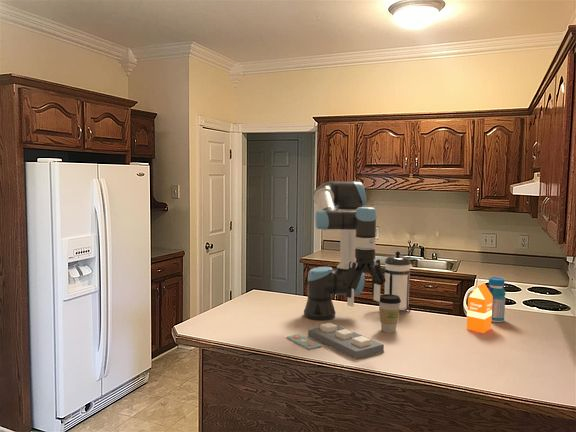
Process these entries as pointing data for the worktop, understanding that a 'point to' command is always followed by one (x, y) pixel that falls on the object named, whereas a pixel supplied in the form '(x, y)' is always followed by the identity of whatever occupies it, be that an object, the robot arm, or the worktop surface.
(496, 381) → the worktop surface
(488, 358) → the worktop surface
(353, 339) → the button right
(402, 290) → the coffee press
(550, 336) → the worktop surface
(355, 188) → the robot arm
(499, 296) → the beverage bottle
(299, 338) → the card
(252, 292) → the worktop surface
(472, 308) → the orange juice
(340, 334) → the button middle
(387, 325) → the coffee cup
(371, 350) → the board
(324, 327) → the button left
